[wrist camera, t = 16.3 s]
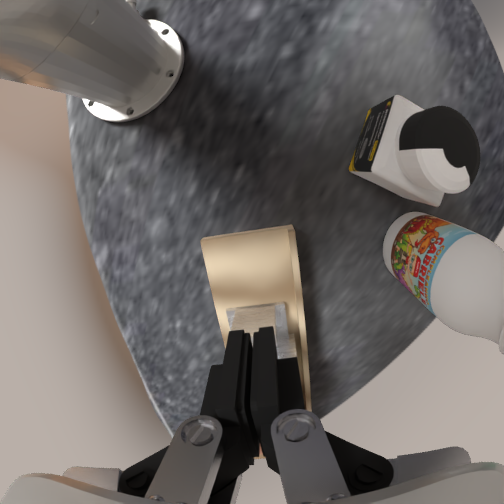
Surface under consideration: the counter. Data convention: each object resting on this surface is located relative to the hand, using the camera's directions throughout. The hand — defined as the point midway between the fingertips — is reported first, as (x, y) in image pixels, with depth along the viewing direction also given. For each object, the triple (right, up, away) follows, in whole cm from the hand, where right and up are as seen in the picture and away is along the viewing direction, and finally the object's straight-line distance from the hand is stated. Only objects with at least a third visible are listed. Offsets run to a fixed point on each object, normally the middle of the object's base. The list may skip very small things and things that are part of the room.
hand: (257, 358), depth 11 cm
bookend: (+1, -4, +19) cm, 20 cm away
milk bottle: (+17, +5, +17) cm, 25 cm away
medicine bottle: (+14, +14, +15) cm, 25 cm away
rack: (+1, -5, +21) cm, 22 cm away
